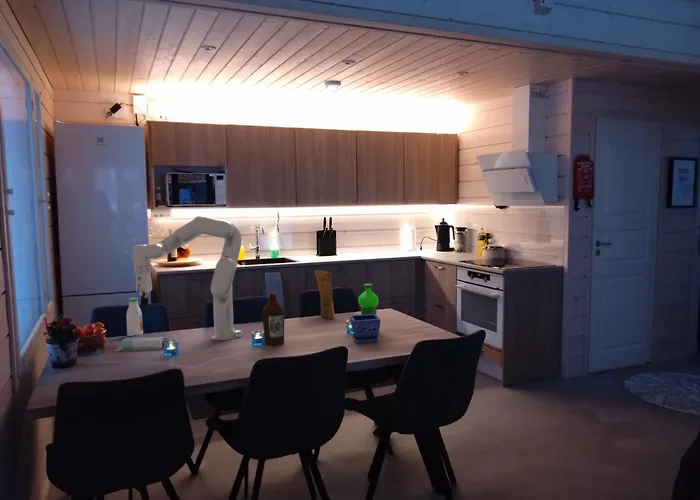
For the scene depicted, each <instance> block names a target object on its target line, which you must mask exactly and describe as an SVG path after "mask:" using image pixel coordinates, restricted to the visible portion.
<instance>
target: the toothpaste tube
mask: <svg viewBox="0 0 700 500" xmlns="http://www.w3.org/2000/svg"><path fill="white" fill-rule="evenodd" d="M163 337H164V336H160V337H157V336H156V337H125V338H124V339H123V340H127V339H134V340H143V339H162V342H163ZM163 347H164V342H163Z"/></svg>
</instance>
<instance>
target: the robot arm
mask: <svg viewBox="0 0 700 500" xmlns="http://www.w3.org/2000/svg"><path fill="white" fill-rule="evenodd" d="M202 235H205V236H206V235H207V236H211V237H216V238H221V239H224V242H223V243H224V244H223V247H222V250H221V251H222V252H221V255H220V258H219V260H217V263H216V265H215V268H214V272H213V276H212V280H211V284H210V292H211V295H212V297H213V298H212V302H213V303H212V304H213V326H214V327H213V328H214V330H213V331H214V335H212V336H211V340H215V341H227V340H233V339H235V338H237V337H238V336H241V335H242V336H243V330H236V328H234V310H233V309H234V307H233V306H234V304H233V301H234V300H233V281H234V277H235V272H236V270H237V267H238V260H239V257H240V252H241V247H242V243H243V242H242V239H243V238H242V233H241V230H240V229H239V228H238V226H237V225H236V224H235V223H233V222H232V221H230V220H222V219H216V218H214V217H213V218H212V217H208V216H206V215H197V216H196V217H194V218H193V219H192V220H190V221H189V222H187V223H186V224H184V225H182V226H180V227H178V228H176V230H174V232H173V233H172V234H170V235H168V236H167V237H165V238H164V239H162V240H160V241H158V242H156V243H153V244H135V245H133V247H132V256H133V270H134V274H135V290H136V293H137V294H138V296H139V298H140V299H139V300H140V306H141V307H142V308H143V307H149V293H150V292H151V291H152V290H153V283H152V275H151V260H152V259H153V260H159V259H161V258H164V257H166V256H167V255H170V253H172V252H174V251H176V250H177V249H179V248H181V247H183V246H186V245H187V244H189V243H190V242H192V241H194V240H195V239H197V238H199V237H200V236H202Z"/></svg>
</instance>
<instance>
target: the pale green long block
mask: <svg viewBox="0 0 700 500" xmlns="http://www.w3.org/2000/svg"><path fill="white" fill-rule="evenodd" d="M162 337H163V342H164V343H165V342H168V340H169V339H168V338H169V336H162ZM163 342H162V339H143V340H134V339H127V340H124V339H122V340H121V342H120V343H121V346H122V350H131V349H163Z"/></svg>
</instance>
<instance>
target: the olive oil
mask: <svg viewBox="0 0 700 500" xmlns="http://www.w3.org/2000/svg"><path fill="white" fill-rule="evenodd" d="M268 297H269V301H267V303H266V304H265V305H264V307H263V308H262V312H261V315H262V327H263V339H264V345H265V346H266V347H278V346H283V345H285V308H284V306H283V305H281V304H280V302H279V301H278V300H277V292H275V291H274V292H269V296H268Z"/></svg>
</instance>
